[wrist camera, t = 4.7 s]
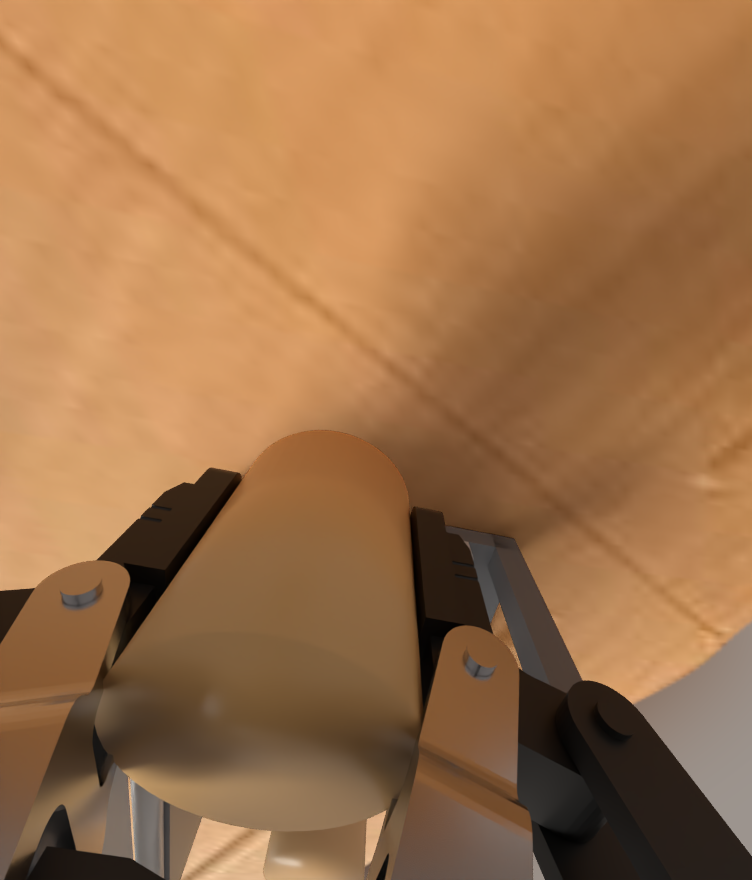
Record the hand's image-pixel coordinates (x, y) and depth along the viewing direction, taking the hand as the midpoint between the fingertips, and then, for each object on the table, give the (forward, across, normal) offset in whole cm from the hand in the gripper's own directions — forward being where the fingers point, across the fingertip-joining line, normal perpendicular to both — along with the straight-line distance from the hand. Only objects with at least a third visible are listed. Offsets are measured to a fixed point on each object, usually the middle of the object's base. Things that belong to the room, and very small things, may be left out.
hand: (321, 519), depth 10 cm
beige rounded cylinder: (+1, 0, 0) cm, 1 cm away
